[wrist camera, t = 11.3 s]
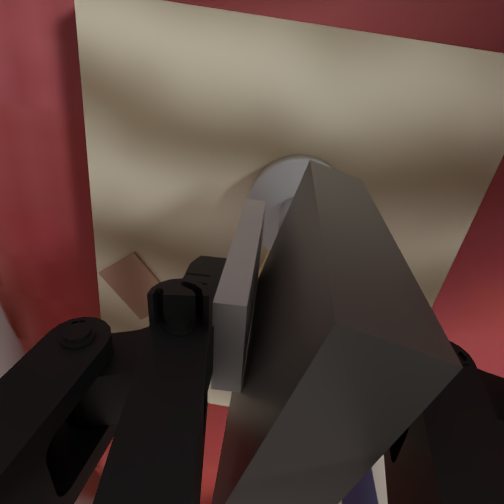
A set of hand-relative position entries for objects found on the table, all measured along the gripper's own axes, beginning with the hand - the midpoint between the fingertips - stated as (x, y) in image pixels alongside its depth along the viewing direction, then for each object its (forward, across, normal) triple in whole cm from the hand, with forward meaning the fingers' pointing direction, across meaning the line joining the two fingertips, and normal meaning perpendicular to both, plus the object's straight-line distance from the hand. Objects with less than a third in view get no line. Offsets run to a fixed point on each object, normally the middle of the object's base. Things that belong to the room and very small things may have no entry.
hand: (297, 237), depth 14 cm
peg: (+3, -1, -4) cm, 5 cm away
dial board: (+6, -1, -4) cm, 7 cm away
